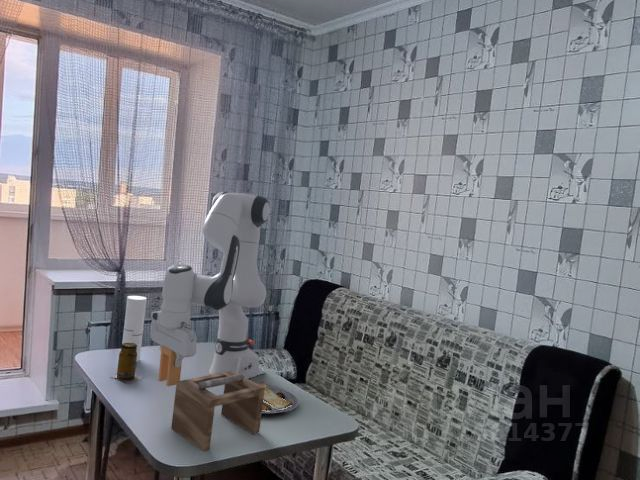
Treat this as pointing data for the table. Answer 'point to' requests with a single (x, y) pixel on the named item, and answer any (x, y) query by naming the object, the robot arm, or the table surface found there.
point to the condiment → (127, 363)
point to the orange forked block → (168, 367)
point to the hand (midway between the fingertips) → (170, 362)
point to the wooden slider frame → (199, 405)
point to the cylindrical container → (134, 321)
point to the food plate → (277, 399)
